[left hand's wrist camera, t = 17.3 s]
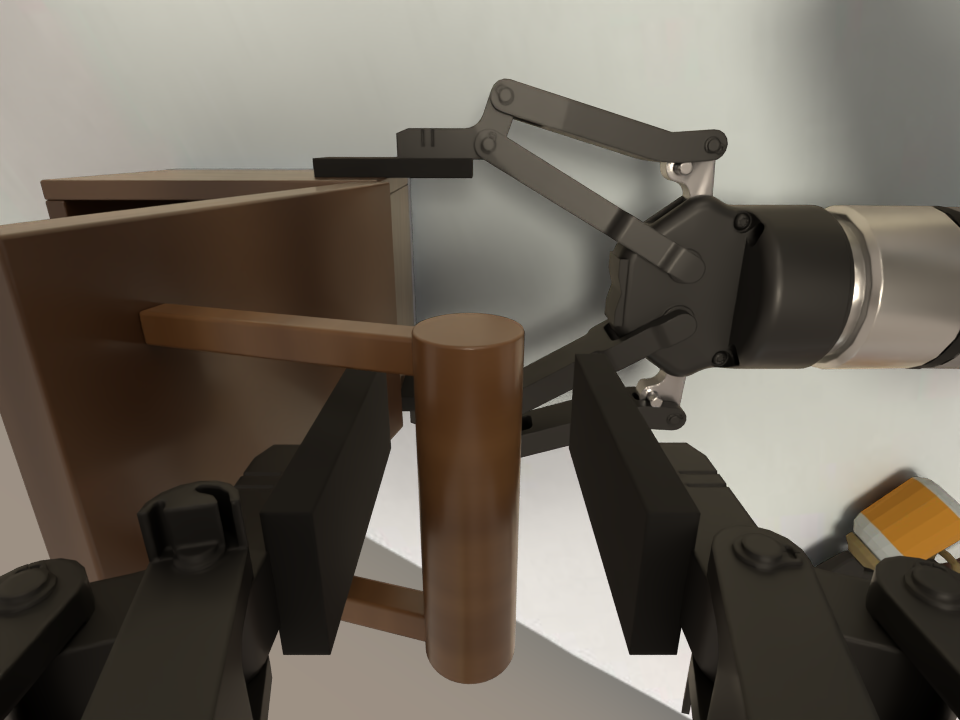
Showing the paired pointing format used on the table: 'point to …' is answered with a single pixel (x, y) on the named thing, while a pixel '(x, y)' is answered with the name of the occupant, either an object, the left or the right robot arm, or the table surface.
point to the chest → (221, 183)
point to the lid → (257, 388)
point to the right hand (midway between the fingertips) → (333, 288)
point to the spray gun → (901, 529)
